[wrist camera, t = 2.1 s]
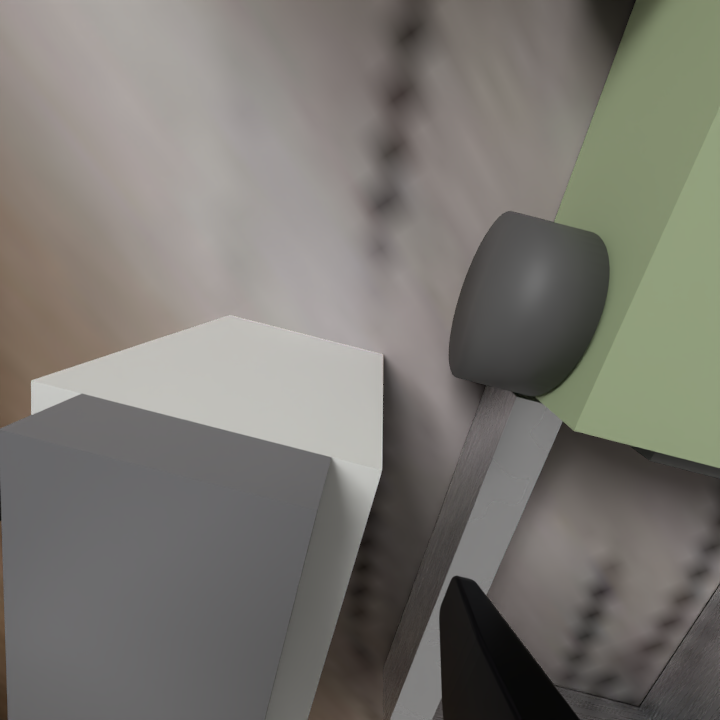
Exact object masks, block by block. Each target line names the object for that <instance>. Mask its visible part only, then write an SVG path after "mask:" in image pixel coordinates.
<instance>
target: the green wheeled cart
mask: <svg viewBox="0 0 720 720" xmlns="http://www.w3.org/2000/svg"><path fill="white" fill-rule="evenodd" d="M449 364H450V369H451V372H452V374H453V375H454V376H455V377H457V378H461V379H465V380H469V381H472V382H476V383H480V384H484V385H488V386H492V387H496V388H500V389H504V390H508V391H511V392H515V393H519V394H523V395H527V396H535V397H536V398H537V399H538V400H539V401H540V402H541V403H542V404H544V405H545V406H546V407H547V408H548V409H549V410H550V411H552V412H553V413H554V414H555V415H556V416H557V417H558V418H560V419H561V420H562V421H563V422H564V423H565V424H566V425H568V426H569V427H570V428H571V429H572V430H573V431H576V432H580V433H584V434H588V435H592V436H596V437H600V438H604V439H608V440H612V441H616V442H619V443H623V444H627V445H629V446H631V447H632V448H633V449H635V450H636V451H637V452H639V453H640V454H642V455H643V456H644V457H646V458H647V459H648V460H650V461H652V462H656V463H660V464H664V465H668V466H672V467H676V468H680V469H684V470H687V471H691V472H695V473H699V474H703V475H707V476H711V477H715V478H719V479H720V0H636V2H635V4H634V7H633V10H632V13H631V15H630V18H629V21H628V23H627V26H626V29H625V31H624V34H623V37H622V40H621V42H620V45H619V48H618V50H617V53H616V56H615V58H614V61H613V64H612V67H611V69H610V72H609V75H608V77H607V80H606V83H605V86H604V88H603V91H602V94H601V96H600V99H599V102H598V104H597V107H596V110H595V113H594V115H593V118H592V121H591V123H590V126H589V129H588V131H587V134H586V137H585V140H584V142H583V145H582V148H581V150H580V153H579V156H578V159H577V161H576V164H575V167H574V169H573V172H572V175H571V177H570V180H569V183H568V186H567V188H566V191H565V194H564V196H563V199H562V202H561V204H560V207H559V210H558V213H557V215H556V218H555V221H554V222H551V221H547V220H543V219H540V218H536V217H532V216H528V215H524V214H520V213H516V212H512V211H508V212H505V213H504V214H502V215H501V216H500V217H499V218H498V219H497V220H496V221H495V222H494V224H493V225H492V226H491V228H490V229H489V231H488V232H487V234H486V235H485V237H484V239H483V240H482V242H481V244H480V246H479V248H478V250H477V252H476V254H475V256H474V258H473V261H472V263H471V265H470V268H469V270H468V273H467V275H466V278H465V281H464V283H463V286H462V289H461V293H460V296H459V299H458V303H457V306H456V310H455V314H454V318H453V323H452V329H451V335H450V343H449Z"/></svg>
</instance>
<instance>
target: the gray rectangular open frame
mask: <svg viewBox="0 0 720 720" xmlns="http://www.w3.org/2000/svg"><path fill="white" fill-rule="evenodd" d="M562 422H563V421H562V420H561V419H560V418H558V417H557V416H556V415H555V414H554V413H553V412H552V411H550V410H549V409H548V408H547V407H546V406H545V405H544V404H542V403H541V402H540V401H539V400H538V399H537V398H536V397H535V396H527V395H523V394H519V393H515V392H511V391H508V390H504V389H500V388H496V387H492V386H488V385H486V387H485V390H484V393H483V395H482V398H481V401H480V404H479V406H478V409H477V412H476V415H475V417H474V420H473V423H472V426H471V428H470V431H469V434H468V437H467V439H466V442H465V445H464V448H463V450H462V453H461V456H460V459H459V461H458V464H457V467H456V470H455V472H454V475H453V478H452V481H451V483H450V486H449V489H448V492H447V494H446V497H445V500H444V503H443V505H442V508H441V511H440V514H439V516H438V519H437V522H436V525H435V527H434V530H433V533H432V536H431V538H430V541H429V544H428V547H427V549H426V552H425V555H424V558H423V560H422V563H421V566H420V569H419V571H418V574H417V577H416V580H415V582H414V585H413V588H412V591H411V593H410V596H409V599H408V602H407V604H406V607H405V610H404V613H403V615H402V618H401V621H400V624H399V626H398V629H397V632H396V635H395V637H394V640H393V643H392V646H391V648H390V651H389V654H388V657H387V659H386V662H385V665H384V668H383V720H443V711H442V690H441V661H440V631H439V612H440V607H441V603H442V601H443V598H444V596H445V593H446V591H447V588H448V586H449V583H450V581H451V579H452V578H453V576H461V577H465V578H469V579H472V580H474V581H475V582H476V583H477V584H478V585H479V586H480V588H481V589H482V590H483V592H484V593H485V594H486V595H487V593H488V591H489V588H490V586H491V584H492V582H493V579H494V577H495V575H496V572H497V570H498V568H499V566H500V563H501V561H502V559H503V556H504V554H505V552H506V550H507V547H508V545H509V543H510V541H511V538H512V536H513V534H514V531H515V529H516V527H517V525H518V522H519V520H520V518H521V515H522V513H523V511H524V509H525V506H526V504H527V502H528V499H529V497H530V495H531V493H532V490H533V488H534V486H535V483H536V481H537V479H538V477H539V474H540V472H541V470H542V468H543V465H544V463H545V461H546V458H547V456H548V454H549V452H550V449H551V447H552V445H553V442H554V440H555V438H556V436H557V433H558V431H559V429H560V426H561V424H562ZM555 687H556V688H557V689H558V691H559V692H560V693H561V695H562V696H563V697H564V699H565V700H566V701H567V703H568V704H569V705H570V707H571V708H572V709H573V711H574V712H575V713H576V714H577V716H578V717H579V718H580V720H720V586H719V587H718V589H717V590H716V592H715V593H714V595H713V596H712V598H711V599H710V601H709V602H708V604H707V605H706V607H705V608H704V610H703V612H702V613H701V615H700V616H699V618H698V619H697V621H696V622H695V624H694V625H693V627H692V628H691V630H690V631H689V633H688V634H687V636H686V637H685V639H684V640H683V642H682V643H681V645H680V646H679V648H678V649H677V651H676V652H675V654H674V656H673V657H672V659H671V660H670V662H669V663H668V665H667V666H666V668H665V669H664V671H663V672H662V674H661V675H660V677H659V678H658V680H657V681H656V683H655V684H654V686H653V687H652V689H651V690H650V692H649V693H648V695H647V696H646V698H645V700H644V701H643V703H642V704H641V706H640V707H636V706H632V705H628V704H624V703H621V702H617V701H613V700H609V699H605V698H601V697H597V696H593V695H589V694H585V693H581V692H577V691H573V690H569V689H565V688H561V687H557V686H555Z"/></svg>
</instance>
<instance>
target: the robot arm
mask: <svg viewBox="0 0 720 720" xmlns="http://www.w3.org/2000/svg"><path fill="white" fill-rule="evenodd" d="M0 521H1V489H0ZM439 631H440V661H441V690H442V711H443V720H580V718H579V717H578V716H577V714H576V713H575V712H574V711H573V709H572V708H571V707H570V705H569V704H568V703H567V701H566V700H565V699H564V697H563V696H562V695H561V693H560V692H559V691H558V689H557V688H556V687H555V685H554V684H553V683H552V681H551V680H550V679H549V678H548V676H547V675H546V674H545V672H544V671H543V670H542V668H541V667H540V666H539V664H538V663H537V662H536V660H535V659H534V658H533V656H532V655H531V654H530V652H529V651H528V650H527V649H526V647H525V646H524V645H523V643H522V642H521V641H520V639H519V638H518V637H517V635H516V634H515V633H514V631H513V630H512V629H511V627H510V626H509V625H508V623H507V622H506V621H505V619H504V618H503V617H502V616H501V614H500V613H499V612H498V610H497V609H496V608H495V606H494V605H493V604H492V602H491V601H490V600H489V598H488V597H487V596H486V594H485V593H484V592H483V590H482V589H481V588H480V586H479V585H478V584H477V583H476V582H475V581H474V580H472V579H469V578H465V577H461V576H453V578H452V579H451V581H450V583H449V586H448V588H447V591H446V593H445V596H444V598H443V601H442V603H441V607H440V612H439Z"/></svg>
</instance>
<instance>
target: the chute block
mask: <svg viewBox="0 0 720 720" xmlns="http://www.w3.org/2000/svg"><path fill="white" fill-rule="evenodd" d="M382 447H383V354H381V353H377V352H373V351H369V350H365V349H361V348H357V347H353V346H349V345H345V344H341V343H338V342H334V341H330V340H326V339H322V338H318V337H314V336H310V335H306V334H302V333H298V332H295V331H291V330H287V329H283V328H279V327H275V326H271V325H267V324H263V323H259V322H255V321H251V320H248V319H244V318H240V317H236V316H232V315H228V316H225V317H222V318H219V319H216V320H213V321H210V322H207V323H204V324H201V325H198V326H195V327H192V328H189V329H186V330H183V331H180V332H177V333H174V334H171V335H168V336H165V337H161V338H158V339H155V340H152V341H149V342H146V343H143V344H140V345H137V346H134V347H131V348H128V349H125V350H122V351H119V352H116V353H113V354H110V355H107V356H104V357H101V358H98V359H95V360H92V361H89V362H86V363H83V364H80V365H77V366H74V367H71V368H68V369H65V370H62V371H59V372H56V373H53V374H49V375H46V376H43V377H40V378H37V379H34V380H31V416H28V417H26V418H24V419H21V420H19V421H17V422H14V423H12V424H10V425H7V426H5V427H3V428H0V489H1V520H2V551H3V582H4V613H5V643H6V674H7V705H8V720H307V719H308V716H309V713H310V709H311V706H312V703H313V699H314V696H315V693H316V689H317V686H318V683H319V679H320V676H321V673H322V669H323V666H324V663H325V660H326V656H327V653H328V650H329V646H330V643H331V640H332V636H333V633H334V630H335V626H336V623H337V620H338V616H339V613H340V610H341V606H342V603H343V600H344V596H345V593H346V590H347V586H348V583H349V580H350V576H351V573H352V570H353V566H354V563H355V560H356V556H357V553H358V550H359V546H360V543H361V540H362V536H363V533H364V530H365V526H366V523H367V520H368V516H369V513H370V510H371V506H372V503H373V500H374V496H375V493H376V490H377V486H378V483H379V480H380V476H381V473H382Z"/></svg>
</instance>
